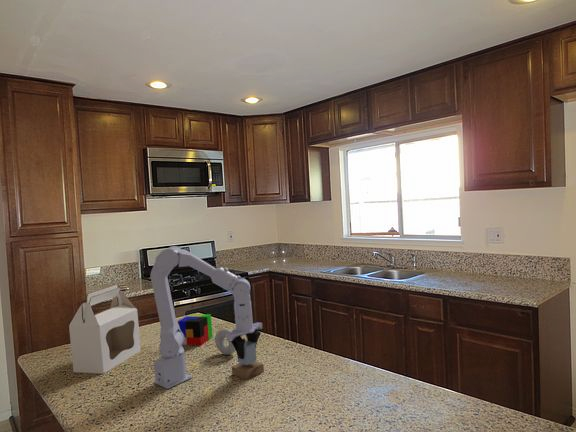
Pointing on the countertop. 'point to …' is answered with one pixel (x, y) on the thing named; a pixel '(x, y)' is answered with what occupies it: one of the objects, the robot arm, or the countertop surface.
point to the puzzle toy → (196, 329)
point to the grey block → (248, 353)
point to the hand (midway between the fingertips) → (246, 355)
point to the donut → (221, 344)
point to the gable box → (104, 332)
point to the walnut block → (247, 370)
